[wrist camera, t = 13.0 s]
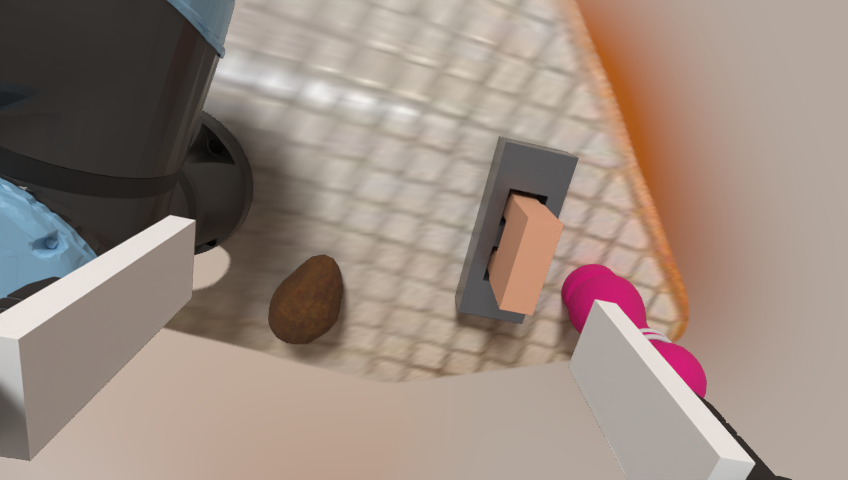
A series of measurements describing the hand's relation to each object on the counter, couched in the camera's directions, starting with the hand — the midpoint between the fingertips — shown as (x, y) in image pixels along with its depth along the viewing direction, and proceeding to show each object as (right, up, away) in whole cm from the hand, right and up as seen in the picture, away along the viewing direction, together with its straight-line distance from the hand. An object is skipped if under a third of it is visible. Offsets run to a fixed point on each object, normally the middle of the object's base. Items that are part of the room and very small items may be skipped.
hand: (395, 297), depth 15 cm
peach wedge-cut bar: (+10, +3, +32) cm, 34 cm away
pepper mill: (+19, -4, +36) cm, 41 cm away
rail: (+10, +3, +33) cm, 34 cm away
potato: (-11, -4, +35) cm, 37 cm away
